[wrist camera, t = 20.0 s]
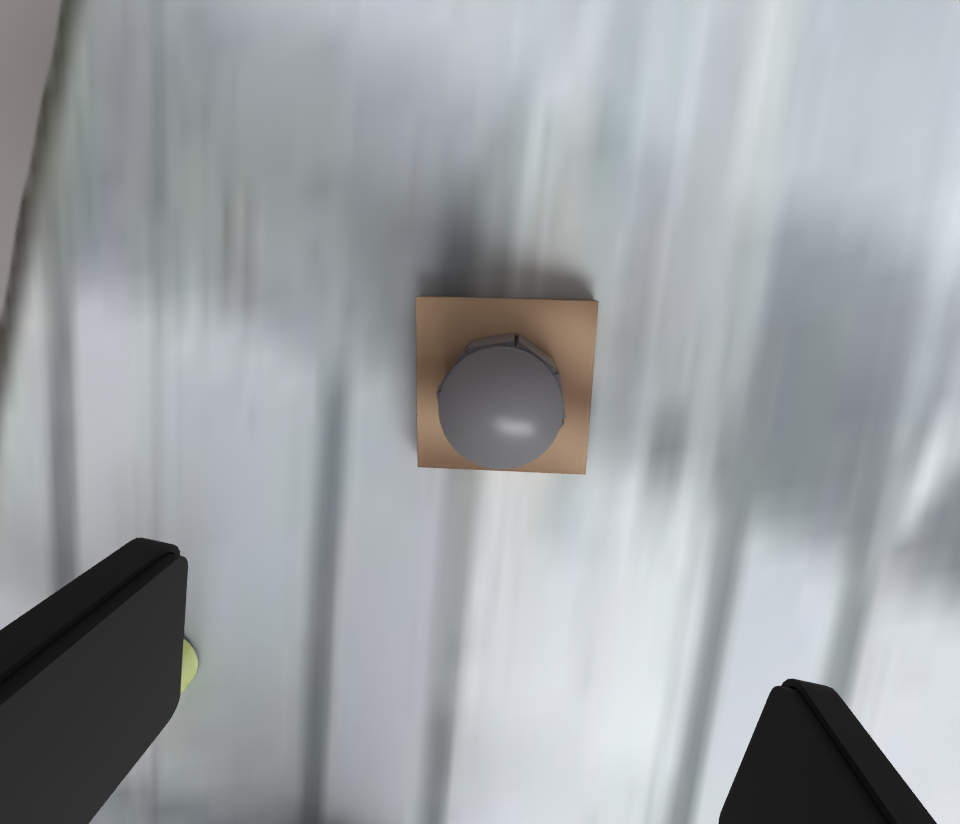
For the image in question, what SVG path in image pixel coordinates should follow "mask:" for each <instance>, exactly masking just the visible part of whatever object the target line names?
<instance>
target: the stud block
mask: <svg viewBox="0 0 960 824" xmlns="http://www.w3.org/2000/svg"><path fill="white" fill-rule="evenodd" d="M597 315H598V301H596V300H566V299H524V298H481V297H439V296H419V297H416V352H417V452H418V467H428V468H450V469H473V470H495V471H518V472H541V473H563V474H586V462H587V449H588V435H589V422H590V408H591V395H592V382H593V368H594V355H595V341H596V328H597ZM512 332H515V337H516V336H517V335H518V334H519V333H520V334H521V335H522V336H524V337H525V338H527V339H528V340H529V341H531V342H532V343H534V344H535V345H536V346H538V347H539V348H540V349H542V350H543V351H545V352H546V353H547V354H549V355H550V356H551V357H552V358H553V360H554V361H555V363H556V366H557V368H558V370H559V373H560V379H561V386H562V393H563V400H564V408H565V415H566V419H564V422H565V424H564V425H563V426H562V427H561V429H560V430H559V432H558V434H557V436H556V438H555V440H554V441H553V443H552V444H551V446H550V447H549V448H548V449H547V450H546V451H545V452H544V453H543V454H542V455H541V456H539V457H538V458H537V459H535V460H533V461H532V462H530V463H528V464H526V465H523V466H520V467H516V468H511V469H492V468H486V467H483V466H479V465H477V464H475V463H472V462H471V461H469V460H467V459H466V458H464V457H463V456H462V455H460V454H459V453H458V452H457V451H456V450H455V449H454V448H453V447H452V446H451V444H450V443H449V442H448V441H447V438H446V436H444V432H443V430H442V428H441V424H440V420H439V413H438V400H437V395H436V392H437V391H438V388H437V387H438V386H439V385H440V383H441V382H442V380H443V379H444V377H445V376H446V375H447V373H448V372H449V370H450V369H451V367H452V366H453V365H454V363H455V362H456V360H457V359H458V357H459V356H460V355H461V353H462V352H463V350H464V349H465V348H466V346H467V345H468V344H469V342H470V341H471V342H472V341H473V340H474V339H475V338H481V337H487V336H493V335H499V334H506V333H512Z"/></svg>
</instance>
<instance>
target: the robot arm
mask: <svg viewBox="0 0 960 824" xmlns="http://www.w3.org/2000/svg"><path fill="white" fill-rule="evenodd" d="M187 573H188V562H187V559H186V558H185V557H183V556H180V551H179V549H178V547H177V546H175V545H173V544H168V543H164V542H159V541H155V540H150V539H145V538H136V539H134V540H132V541H130V542H129V543H127V544H126V545H124V546H123V547H121V548H120V549H118V550H117V551H115V552H114V553H112V554H111V555H110V556H108V557H107V558H105V559H104V560H102V561H101V562H99V563H98V564H96V565H95V566H93V567H92V568H91V569H89V570H88V571H86V572H85V573H83V574H82V575H80V576H79V577H77V578H76V579H74V580H73V581H72V582H70V583H69V584H67V585H66V586H64V587H63V588H61V589H60V590H58V591H57V592H55V593H54V594H53V595H51V596H50V597H48V598H47V599H45V600H44V601H42V602H41V603H39V604H38V605H36V606H35V607H34V608H32V609H31V610H29V611H28V612H26V613H25V614H23V615H22V616H20V617H19V618H17V619H16V620H15V621H13V622H12V623H10V624H9V625H7V626H6V627H4V628H3V629H1V630H0V824H89V822H90V821H91V820H92V818H93V817H94V816H95V815H96V813H97V812H98V811H99V809H100V808H101V807H102V806H103V804H104V803H105V802H106V801H107V799H108V798H109V797H110V795H111V794H112V793H113V792H114V790H115V789H116V788H117V787H118V785H119V784H120V783H121V781H122V780H123V779H124V778H125V776H126V775H127V774H128V773H129V771H130V770H131V769H132V767H133V766H134V765H135V764H136V762H137V761H138V760H139V759H140V757H141V756H142V755H143V753H144V752H145V751H146V750H147V748H148V747H149V746H150V745H151V743H152V742H153V741H154V739H155V738H156V737H157V736H158V734H159V733H160V732H161V731H162V729H163V728H164V727H165V725H166V724H167V723H168V722H169V720H170V719H171V717H172V715H173V714H174V712H175V710H176V707H177V705H178V702H179V698H180V692H181V675H182V658H183V641H184V624H185V607H186V590H187ZM719 824H937V823H936V822H935V821H934V819H933V818H932V817H931V815H930V814H929V813H928V811H927V810H926V809H925V807H924V806H923V805H922V803H921V802H920V801H919V800H918V798H917V797H916V796H915V794H914V793H913V792H912V790H911V789H910V788H909V786H908V785H907V784H906V782H905V781H904V780H903V779H902V777H901V776H900V775H899V773H898V772H897V771H896V769H895V768H894V767H893V765H892V764H891V763H890V761H889V760H888V759H887V758H886V756H885V755H884V754H883V752H882V751H881V750H880V748H879V747H878V746H877V744H876V743H875V742H874V740H873V739H872V738H871V737H870V735H869V734H868V733H867V731H866V730H865V729H864V727H863V726H862V725H861V723H860V722H859V721H858V719H857V718H856V717H855V716H854V714H853V713H852V712H851V710H850V709H849V708H848V706H847V705H846V704H845V702H844V701H843V700H842V698H841V697H840V696H839V695H838V693H837V692H836V691H835V690H834V689H832V688H830V687H828V686H824V685H820V684H815V683H810V682H806V681H801V680H797V679H787V680H786V681H785V682H783V684H782V686H775V687H774V688H773V689H772V690H771V692H770V694H769V697H768V699H767V701H766V704H765V706H764V709H763V711H762V714H761V716H760V718H759V721H758V723H757V726H756V728H755V731H754V733H753V735H752V738H751V740H750V743H749V745H748V748H747V750H746V752H745V755H744V757H743V760H742V762H741V765H740V767H739V769H738V772H737V774H736V777H735V779H734V781H733V784H732V786H731V789H730V791H729V794H728V796H727V798H726V801H725V803H724V806H723V808H722V811H721V813H720V817H719Z"/></svg>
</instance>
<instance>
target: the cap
mask: <svg viewBox="0 0 960 824" xmlns="http://www.w3.org/2000/svg"><path fill="white" fill-rule="evenodd" d="M437 388H438V391H437V392H436V395H437V400H438V413H439V420H440V424H441V428H442V430H443V432H444V436H446V438H447V441H448V442H449V443H450V444H451V446H452V447H453V448H454V449H455V450H456V451H457V452H458V453H459V454H460V455H462V456H463V457H464V458H466V459H467V460H469V461H471V462H472V463H475V464H477V465H479V466H483V467H486V468H492V469H511V468H516V467H520V466H523V465H526V464H528V463H530V462H532V461H533V460H535V459H537V458H538V457H539V456H541V455H542V454H543V453H544V452H545V451H546V450H547V449H548V448H549V447H550V446H551V444H552V443H553V441H554V440H555V438H556V436H557V434H558V432H559V430H560V429H561V427H562V426H563V425H564V424H565V422H564V419H566V415H565V408H564V400H563V393H562V386H561V379H560V373H559V370H558V368H557V366H556V363H555V361H554V360H553V358H552V357H551V356H550V355H549V354H547V353H546V352H545V351H543V350H542V349H540V348H539V347H538V346H536V345H535V344H534V343H532V342H531V341H529V340H528V339H527V338H525V337H524V336H522V335H521V334H520V333H519V334H518V335H517V336H516V337H515V332H512V333H506V334H499V335H493V336H487V337H481V338H475V339H474V340H473V341H472V342H471V341H470V342H469V344H468V345H467V346H466V348H465V349H464V350H463V352H462V353H461V355H460V356H459V357H458V359H457V360H456V362H455V363H454V365H453V366H452V367H451V369H450V370H449V372H448V373H447V375H446V376H445V377H444V379H443V380H442V382H441V383H440V385H439V386H438V387H437Z"/></svg>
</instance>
